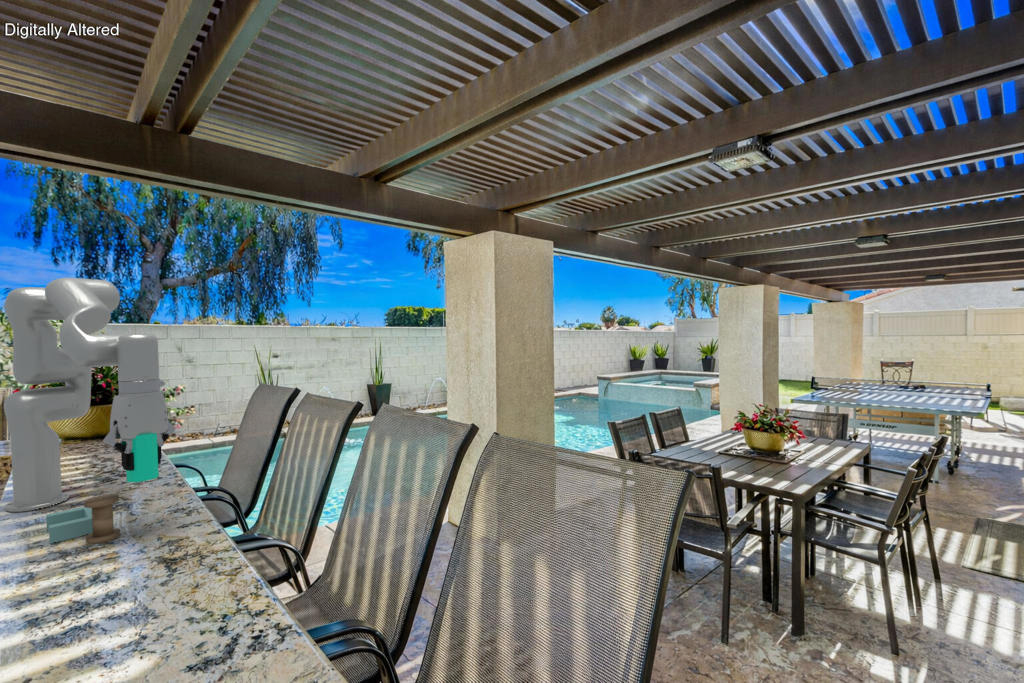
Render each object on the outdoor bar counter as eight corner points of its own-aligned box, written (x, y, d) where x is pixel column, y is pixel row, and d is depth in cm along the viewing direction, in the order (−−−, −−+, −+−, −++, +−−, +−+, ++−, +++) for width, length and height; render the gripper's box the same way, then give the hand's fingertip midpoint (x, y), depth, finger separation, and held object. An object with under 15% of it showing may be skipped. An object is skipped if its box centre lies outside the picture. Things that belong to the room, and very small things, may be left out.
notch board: (46, 529, 116) (46, 514, 115) (96, 518, 122) (95, 504, 122) (50, 543, 107) (49, 528, 107) (103, 531, 114) (102, 516, 114)
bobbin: (79, 541, 108) (78, 501, 108) (111, 531, 114) (109, 492, 113) (95, 545, 106) (93, 504, 106) (126, 535, 111) (124, 495, 111)
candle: (141, 482, 109) (139, 429, 108) (119, 481, 110) (117, 429, 110) (165, 475, 115) (163, 424, 114) (144, 474, 116) (142, 423, 115)
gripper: (168, 383, 121) (170, 456, 121) (85, 392, 106) (89, 475, 106) (187, 384, 118) (190, 459, 118) (105, 393, 102) (108, 479, 103)
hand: (142, 465), depth 112 cm, fingers closed on candle, 4 cm apart
